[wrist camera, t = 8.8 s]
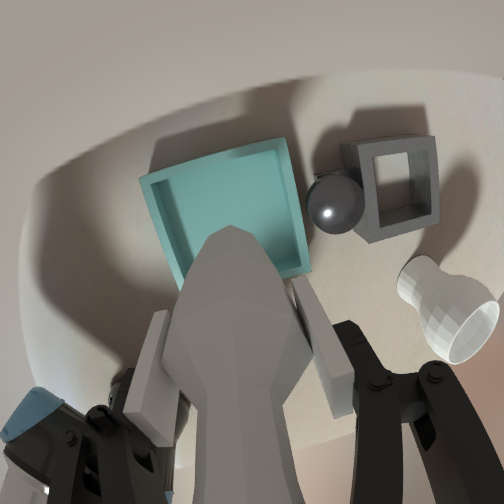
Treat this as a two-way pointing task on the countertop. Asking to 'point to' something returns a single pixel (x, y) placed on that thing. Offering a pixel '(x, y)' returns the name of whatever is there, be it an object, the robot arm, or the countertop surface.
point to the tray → (229, 205)
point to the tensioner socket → (364, 190)
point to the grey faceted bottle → (238, 370)
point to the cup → (449, 308)
